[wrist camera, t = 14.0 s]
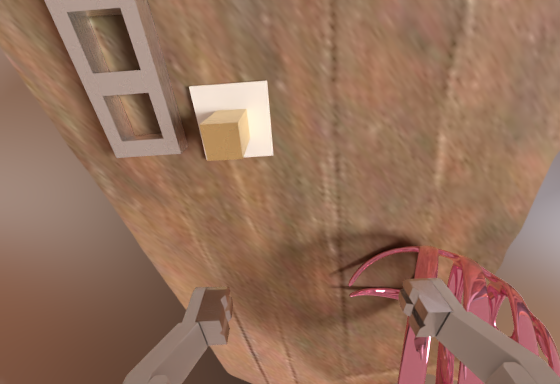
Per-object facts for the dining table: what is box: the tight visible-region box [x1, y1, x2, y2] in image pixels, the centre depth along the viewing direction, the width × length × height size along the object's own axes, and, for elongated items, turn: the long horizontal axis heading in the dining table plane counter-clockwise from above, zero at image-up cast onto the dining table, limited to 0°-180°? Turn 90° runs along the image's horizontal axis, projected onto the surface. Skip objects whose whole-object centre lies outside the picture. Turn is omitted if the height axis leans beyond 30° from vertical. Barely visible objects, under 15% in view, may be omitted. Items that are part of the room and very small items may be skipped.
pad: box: [189, 80, 273, 159], centre depth 31 cm, size 10×10×1 cm
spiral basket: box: [348, 246, 560, 384], centre depth 37 cm, size 28×28×27 cm
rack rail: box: [44, 0, 188, 158], centre depth 26 cm, size 26×9×3 cm, turn 4°
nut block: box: [199, 109, 250, 161], centre depth 28 cm, size 4×4×8 cm
